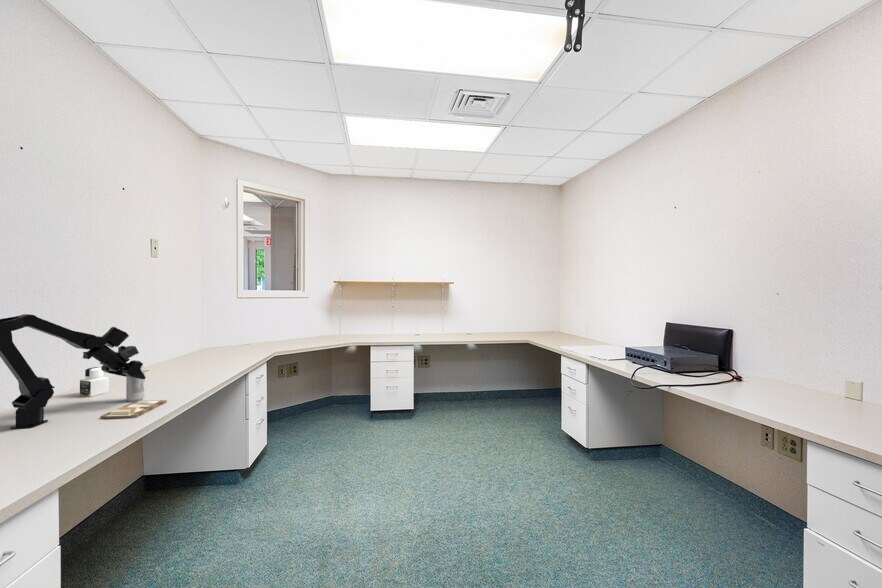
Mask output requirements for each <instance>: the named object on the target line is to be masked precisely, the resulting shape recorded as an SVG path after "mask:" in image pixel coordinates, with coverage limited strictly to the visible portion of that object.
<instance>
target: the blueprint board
mask: <svg viewBox="0 0 882 588" xmlns="http://www.w3.org/2000/svg"><path fill="white" fill-rule="evenodd" d="M166 402H167V403H168V400H167V399H160V400H159V399H156V400H155V399H153V400H151V399H150V400H140V401H134V402H129V403H127V404H125V405H123V406H121V407H117V408H116V409H113V410H112V411H109V412H107V413H105V414H102V415H100V417H99V418H100V420H104V419H103V418H112V419H121V418H120V417H137V418H139V417H141V416H142V414H143V415H145V414H146V412H147V413H149V412H151V411H153V410H155V409H157V408H158V406H159V407H160V405H161V406H162V404H163V405H165V404H166ZM164 403H165V404H164ZM156 407H157V408H156ZM154 408H155V409H154ZM152 409H153V410H152ZM150 410H151V411H150ZM148 411H149V412H148ZM144 413H145V414H144ZM140 415H141V416H140ZM138 416H139V417H138Z"/></svg>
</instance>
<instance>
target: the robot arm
mask: <svg viewBox="0 0 882 588" xmlns="http://www.w3.org/2000/svg"><path fill="white" fill-rule="evenodd" d="M23 328H30V329H32V330H36V331H38V332H40V333H44V334H46V335H49V336H52V337H55V338H58V339H60V340H63V341H64V342H65V343H67V344H69V345H70V346H72V347H73V348H76V349H82V350H87V351H83V352H82V353H83V354H82V355H83V356H82V359H84V360H90V359H91V358H94V359H95V360H97V362H99V365H101V366H100V367H101V370H102V371H104V373H106V374H111V375H115V376H120V377H121V376H122V377H125V378H126V375H127V376H129V377H134V378H138V379H143V380H144V379H145V380H146V378H147V377H146V375H145V376H144V374H143V373H142V371H141V367H142V365H143V366H144V364H143V362H142V361H140V360H135V359H134V360H131V359H130V358H132V357H134V356H136V355H138V354H139V353H140V352H139V350H138V348H137V347H136V346H134V345H127V346H125V345H121V344H122V343H123V342H125V340H127V338H129V337H130V335H129V334H128V333H127V332H126V331H123V330H122V329H120V328H118V327H116V326H111V327H110V328H109V329H108V331H107V332H105V333H104V334H103V335H102V336H98V335H94V334H90V333H86V332H82V331H77V330H72V329H69V328H66V327H64V326H62V325H59V324H56V323H53V322H51V321H48V320H46V319H43V318H41V317H38V316H36V315H35V314H30V313H29V314H26V313H23V314H20V315H16V316H10V317H9V316H8V317H6V318H3V317H2V318H0V358H1V360H2V361H3V363H4V364H5V365H6V367H7V368H8V369H9V371H10V372H11V374H12V376H13V377H14V378H15V379H16V380H17V383H18V390H19V393H20V395H19V396H18V397H16V398H15V399H14V400H12V401H11V404H12V405H11V406H12V407H13V408H15V425H12V426H10V429H30V428H34V427H36V426H39V425H42V424H45V423H47V422H49V420H48V419H45V417H44V416H45V412H44V411H45V409H44V408H45V407H47V404H48V402H49V400H50V399H52V397H53V395H54V393H55V391H54V388H55V387H56V386H53V385H52V384H51V381H50V379H49V378H47V377H42V376H37V375H36V372H34V370H33V369H32V367H31V366H30V365H29V362H28V361H27V360H26V359H25V358H24V356H23V354H22V353H21V352H20V351H19V349H18V348H17V346H16V345H15V343H14V341H13V333H12V332H14V331H18V330H21V329H23ZM113 348H117V351H115V350H113ZM16 408H17V409H16Z"/></svg>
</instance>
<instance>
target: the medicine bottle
mask: <svg viewBox="0 0 882 588" xmlns="http://www.w3.org/2000/svg"><path fill="white" fill-rule="evenodd" d="M101 367H102V366H96V367H88V368H87V369H85V370H84V373H85V375H84V376H85V377H84V378H83V379H80V380H79V396H80V395H82V396H83V397H88V396H89V397H88V398H91V396H92V397H96V395H97V396H101V395H104V394H105V393H106V394H108V393H109V392H110V391H109V389H110V387H109V386H110V385H109V384H110V383H109V382H110V379H109V377H108V376H107V377H106V376H104V375H105V374H104V373H105V372H104V371H102V370H101ZM100 394H101V395H100ZM82 396H81V397H82Z"/></svg>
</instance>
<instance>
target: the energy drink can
mask: <svg viewBox="0 0 882 588" xmlns="http://www.w3.org/2000/svg"><path fill="white" fill-rule="evenodd" d="M145 369H146V368H145V367H144V364H143V365H142V367H141V371H142V373H143V374H144V376H145V377H146V375H145V374H146V370H145ZM125 378H126V385H125V387H126V389H125V390H126V391H125V392H126V393H125V396H126V397H125V400H126V401H129V403H132V402H134V401H144V398H145V394H146V393H145V385H146V384H145V383H146V382H145V381H146V378H145V379H144V380H143V379H138V378H134V377H129V376H127V375H126V377H125Z"/></svg>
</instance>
